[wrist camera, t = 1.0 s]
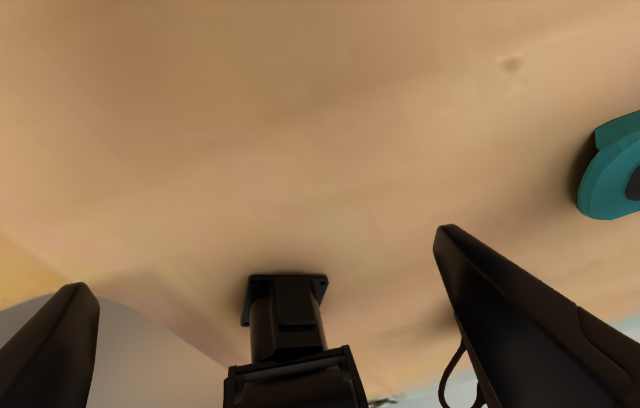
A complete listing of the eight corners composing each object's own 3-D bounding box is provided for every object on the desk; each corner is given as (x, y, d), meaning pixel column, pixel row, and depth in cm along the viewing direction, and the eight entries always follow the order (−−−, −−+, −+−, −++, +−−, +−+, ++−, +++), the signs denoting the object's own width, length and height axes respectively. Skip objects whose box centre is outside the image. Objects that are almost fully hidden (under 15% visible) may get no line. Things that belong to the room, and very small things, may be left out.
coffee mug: (534, 270, 37) (611, 371, 29) (512, 318, 42) (573, 412, 35) (418, 296, 36) (468, 406, 28) (412, 341, 42) (452, 442, 34)
